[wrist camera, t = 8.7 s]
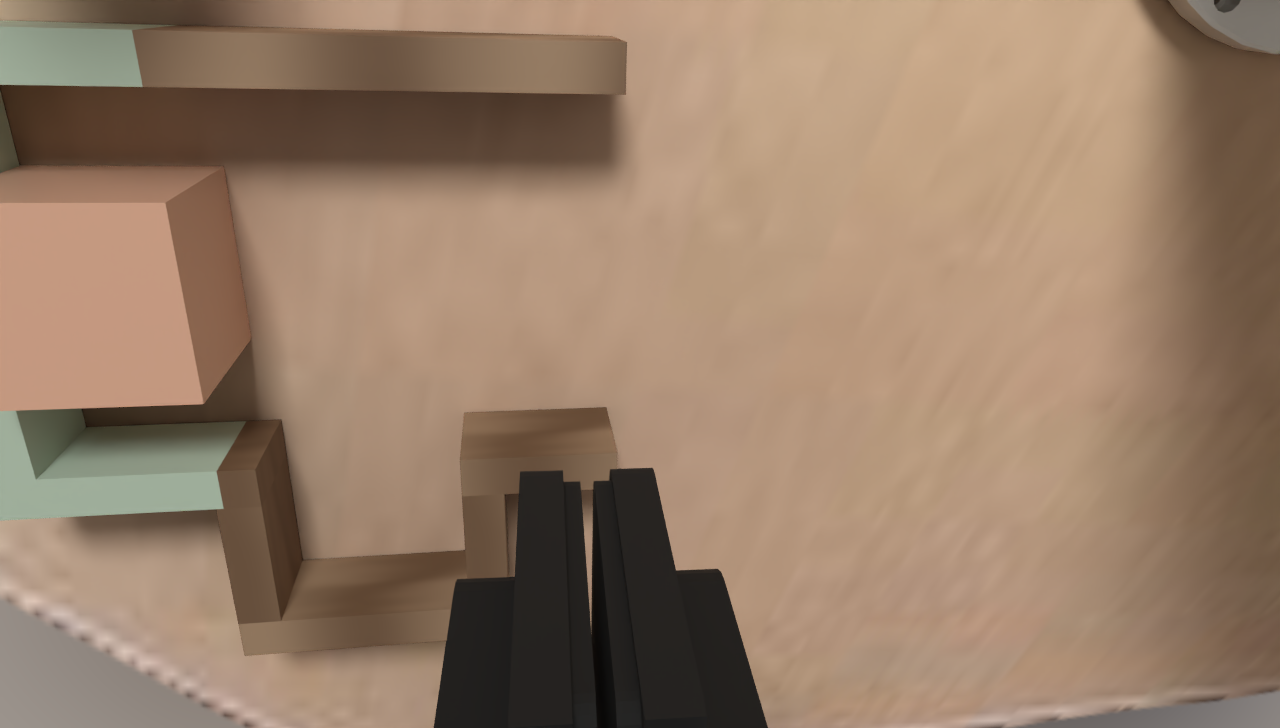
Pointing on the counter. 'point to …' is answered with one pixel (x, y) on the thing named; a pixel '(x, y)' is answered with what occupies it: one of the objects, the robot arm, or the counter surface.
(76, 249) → the block
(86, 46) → the end bay
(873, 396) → the counter surface
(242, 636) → the channel
